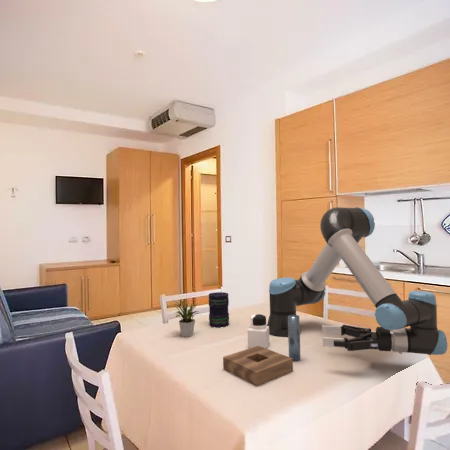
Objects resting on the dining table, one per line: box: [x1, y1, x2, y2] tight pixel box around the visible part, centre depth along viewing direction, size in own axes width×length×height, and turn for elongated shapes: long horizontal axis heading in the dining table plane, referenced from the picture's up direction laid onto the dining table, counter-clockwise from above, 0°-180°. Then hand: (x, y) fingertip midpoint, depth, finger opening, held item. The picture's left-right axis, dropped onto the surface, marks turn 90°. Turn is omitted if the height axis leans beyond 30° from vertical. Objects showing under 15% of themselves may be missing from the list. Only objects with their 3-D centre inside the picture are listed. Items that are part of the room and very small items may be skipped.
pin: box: [287, 314, 301, 362], centre depth 116 cm, size 4×4×15 cm
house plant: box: [172, 299, 202, 338], centre depth 146 cm, size 14×14×16 cm
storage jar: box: [208, 291, 230, 329], centre depth 160 cm, size 10×10×15 cm
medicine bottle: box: [247, 313, 270, 349], centre depth 130 cm, size 7×7×12 cm
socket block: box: [222, 346, 294, 387], centre depth 107 cm, size 16×16×4 cm
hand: (322, 335), depth 113 cm, fingers open, 13 cm apart
